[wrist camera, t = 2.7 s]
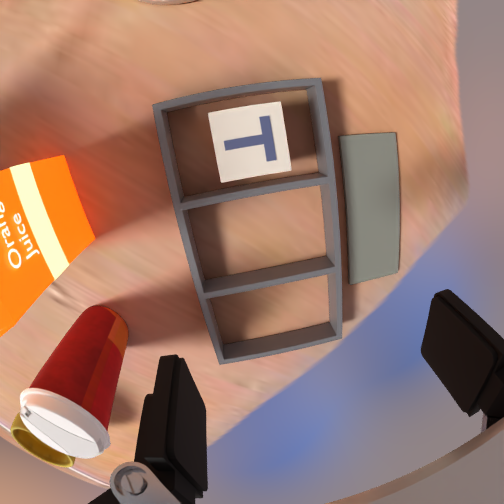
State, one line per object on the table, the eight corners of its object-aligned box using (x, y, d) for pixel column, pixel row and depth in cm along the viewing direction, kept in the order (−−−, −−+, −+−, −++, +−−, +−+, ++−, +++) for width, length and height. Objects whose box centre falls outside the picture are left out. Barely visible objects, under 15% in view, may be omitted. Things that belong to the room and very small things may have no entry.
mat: (338, 136, 24) (339, 136, 24) (393, 132, 24) (395, 132, 24) (348, 283, 30) (349, 285, 30) (396, 271, 30) (397, 272, 30)
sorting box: (158, 107, 22) (152, 104, 19) (311, 82, 22) (320, 77, 20) (219, 349, 32) (219, 364, 29) (334, 324, 32) (342, 338, 30)
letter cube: (210, 117, 23) (207, 112, 18) (268, 107, 23) (280, 101, 18) (220, 173, 25) (221, 183, 20) (278, 163, 25) (291, 170, 20)
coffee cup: (61, 323, 29) (6, 418, 15) (94, 281, 27) (27, 386, 13) (115, 366, 31) (84, 468, 18) (154, 332, 30) (127, 451, 16)
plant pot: (94, 428, 36) (81, 475, 27) (42, 412, 35) (25, 454, 26) (80, 389, 33) (60, 442, 24) (23, 372, 31) (-2, 417, 22)
